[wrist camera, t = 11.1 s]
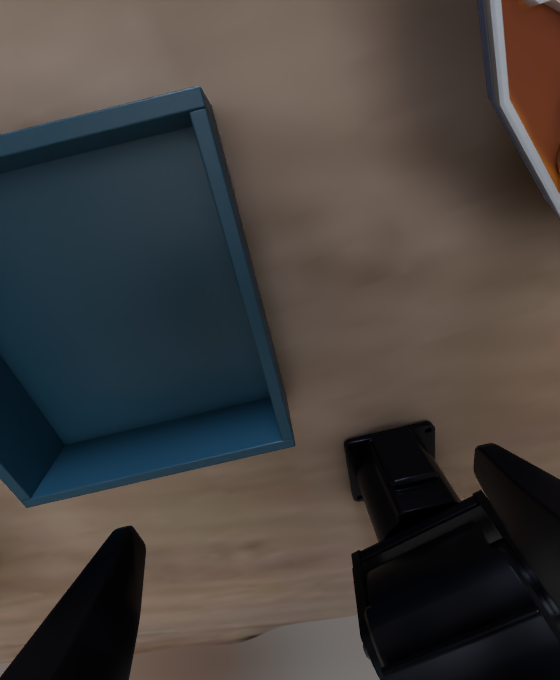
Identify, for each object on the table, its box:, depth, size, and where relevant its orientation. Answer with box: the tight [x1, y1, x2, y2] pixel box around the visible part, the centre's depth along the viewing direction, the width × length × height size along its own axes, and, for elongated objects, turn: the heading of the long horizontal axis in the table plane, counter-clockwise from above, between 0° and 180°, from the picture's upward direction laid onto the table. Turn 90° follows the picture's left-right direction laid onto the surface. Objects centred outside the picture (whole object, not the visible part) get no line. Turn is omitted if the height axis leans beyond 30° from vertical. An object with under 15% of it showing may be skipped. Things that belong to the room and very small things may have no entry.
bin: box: [0, 86, 295, 508], centre depth 17 cm, size 16×15×4 cm
